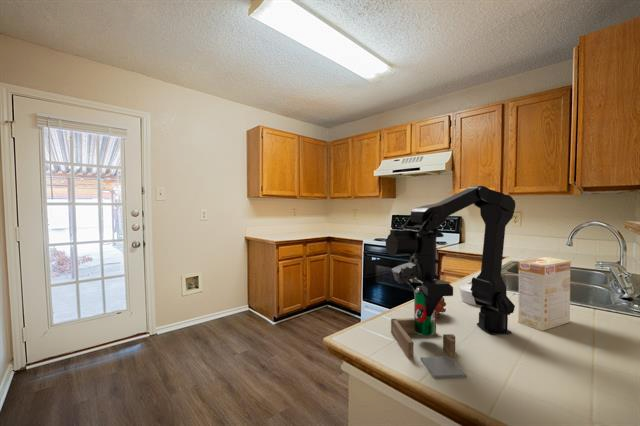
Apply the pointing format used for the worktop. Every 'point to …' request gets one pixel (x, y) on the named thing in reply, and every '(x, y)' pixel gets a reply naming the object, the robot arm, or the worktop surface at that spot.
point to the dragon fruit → (440, 307)
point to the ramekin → (467, 294)
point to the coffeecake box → (544, 292)
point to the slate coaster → (442, 367)
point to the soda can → (422, 315)
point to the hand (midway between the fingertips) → (424, 311)
